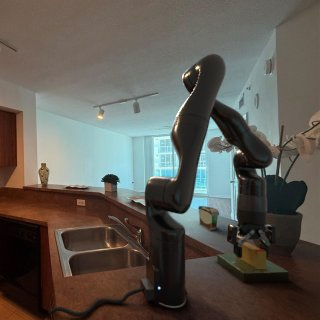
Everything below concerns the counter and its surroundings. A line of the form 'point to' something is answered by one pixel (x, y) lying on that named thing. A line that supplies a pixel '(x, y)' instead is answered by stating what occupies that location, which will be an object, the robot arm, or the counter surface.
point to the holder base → (252, 270)
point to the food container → (208, 217)
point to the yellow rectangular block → (253, 255)
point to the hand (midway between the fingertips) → (250, 256)
